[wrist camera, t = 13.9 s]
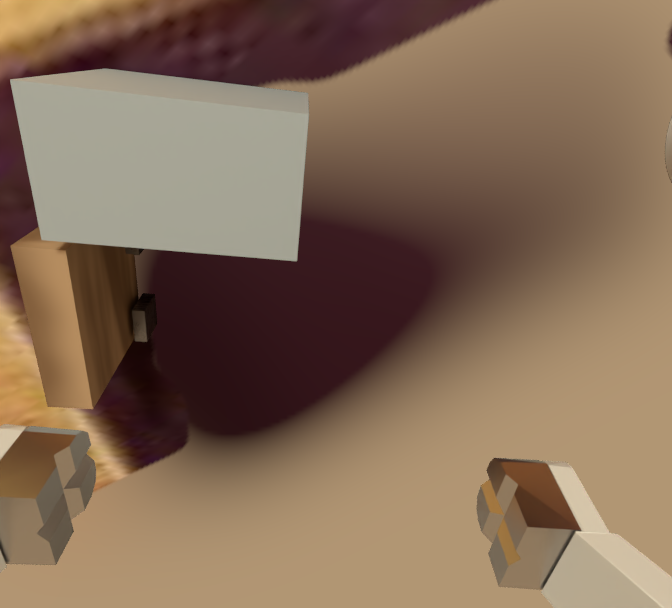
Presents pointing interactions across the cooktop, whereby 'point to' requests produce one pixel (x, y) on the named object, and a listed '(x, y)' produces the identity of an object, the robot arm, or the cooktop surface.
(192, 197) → the cabinet
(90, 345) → the door
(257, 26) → the cooktop surface
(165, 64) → the cooktop surface
